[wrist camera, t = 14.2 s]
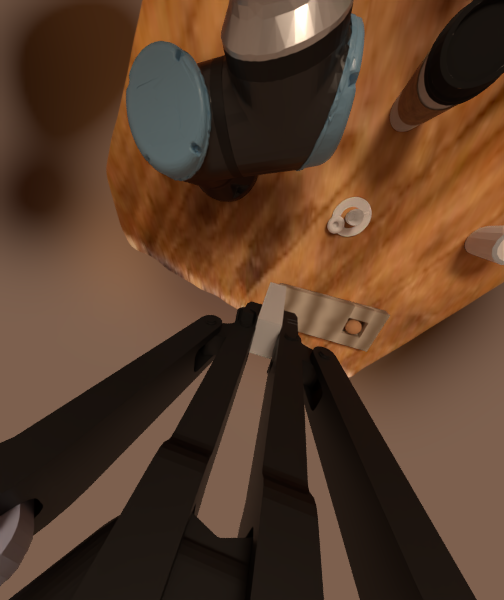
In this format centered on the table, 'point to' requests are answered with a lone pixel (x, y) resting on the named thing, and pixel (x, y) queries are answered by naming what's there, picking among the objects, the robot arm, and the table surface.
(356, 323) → the ball
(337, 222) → the teacup and saucer
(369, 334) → the box with square hole
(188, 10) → the table surface
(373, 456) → the robot arm
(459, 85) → the coffee cup
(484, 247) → the white cup
